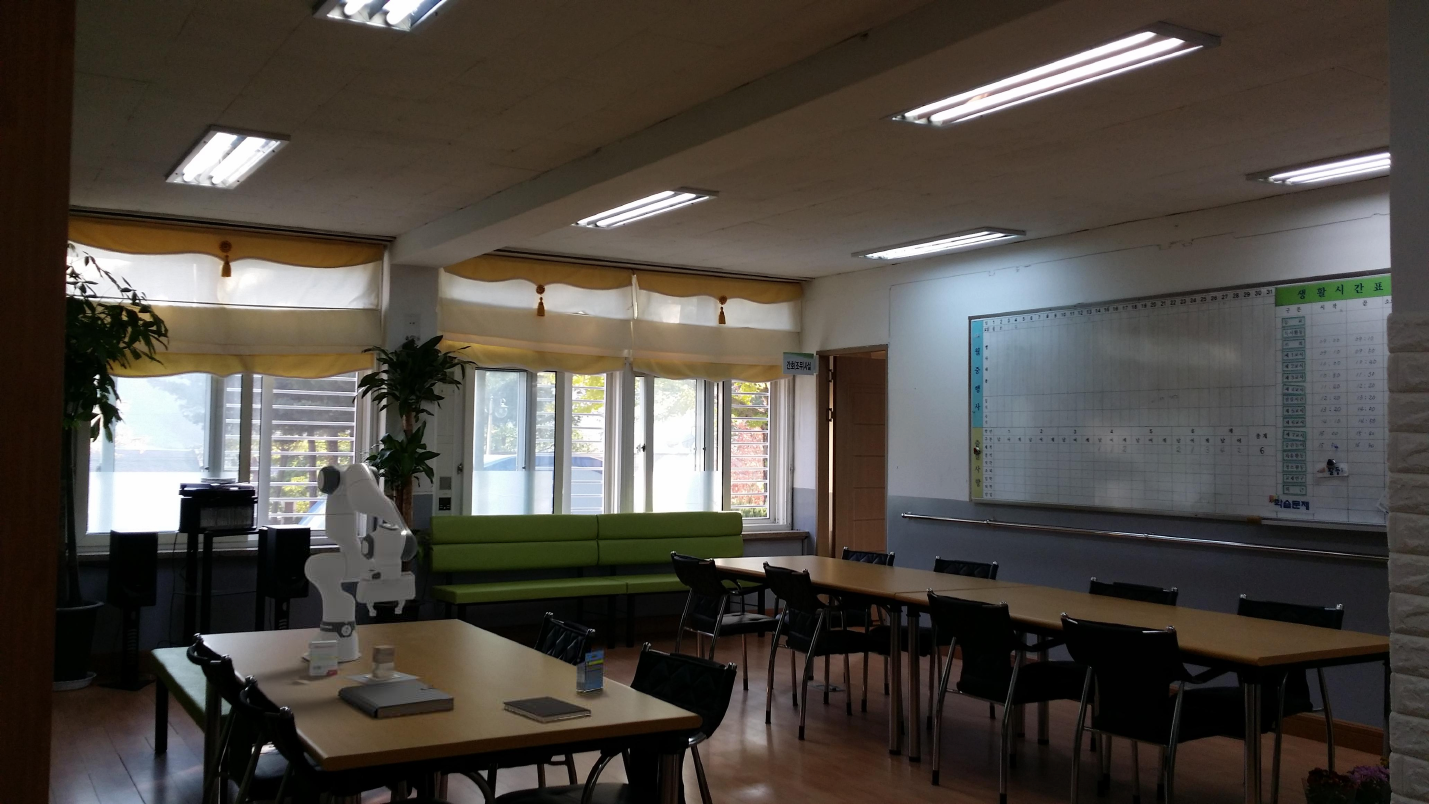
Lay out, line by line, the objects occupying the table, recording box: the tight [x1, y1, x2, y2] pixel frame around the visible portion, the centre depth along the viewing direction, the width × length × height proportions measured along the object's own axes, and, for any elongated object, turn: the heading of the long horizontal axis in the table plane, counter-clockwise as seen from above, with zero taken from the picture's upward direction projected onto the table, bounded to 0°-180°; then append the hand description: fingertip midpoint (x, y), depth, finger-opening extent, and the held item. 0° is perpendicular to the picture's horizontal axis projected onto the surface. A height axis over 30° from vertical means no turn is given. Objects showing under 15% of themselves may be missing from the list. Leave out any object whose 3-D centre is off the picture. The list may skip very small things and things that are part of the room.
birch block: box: [371, 661, 395, 679], centre depth 358 cm, size 5×5×5 cm
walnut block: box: [372, 644, 395, 664], centre depth 359 cm, size 5×5×5 cm
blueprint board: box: [344, 670, 421, 685], centre depth 358 cm, size 18×18×1 cm
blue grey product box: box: [575, 649, 605, 691], centre depth 348 cm, size 9×4×12 cm, turn 145°
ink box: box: [308, 640, 339, 677], centre depth 363 cm, size 9×5×12 cm, turn 116°
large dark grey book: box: [337, 679, 456, 719], centre depth 324 cm, size 33×4×24 cm
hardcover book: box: [502, 695, 592, 723], centre depth 315 cm, size 16×23×2 cm
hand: (385, 614), depth 361 cm, fingers open, 8 cm apart
